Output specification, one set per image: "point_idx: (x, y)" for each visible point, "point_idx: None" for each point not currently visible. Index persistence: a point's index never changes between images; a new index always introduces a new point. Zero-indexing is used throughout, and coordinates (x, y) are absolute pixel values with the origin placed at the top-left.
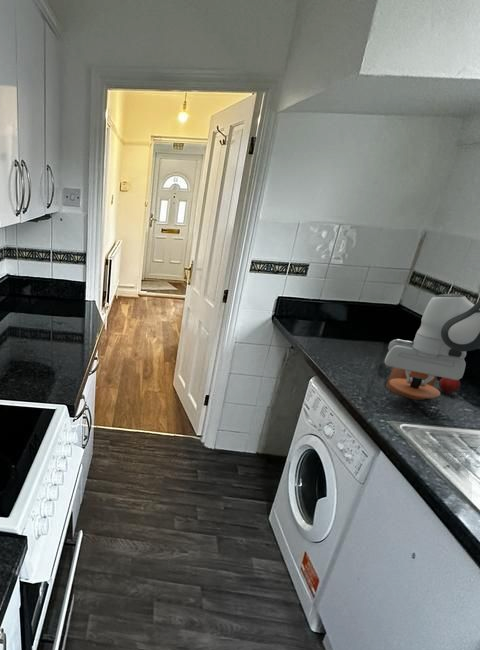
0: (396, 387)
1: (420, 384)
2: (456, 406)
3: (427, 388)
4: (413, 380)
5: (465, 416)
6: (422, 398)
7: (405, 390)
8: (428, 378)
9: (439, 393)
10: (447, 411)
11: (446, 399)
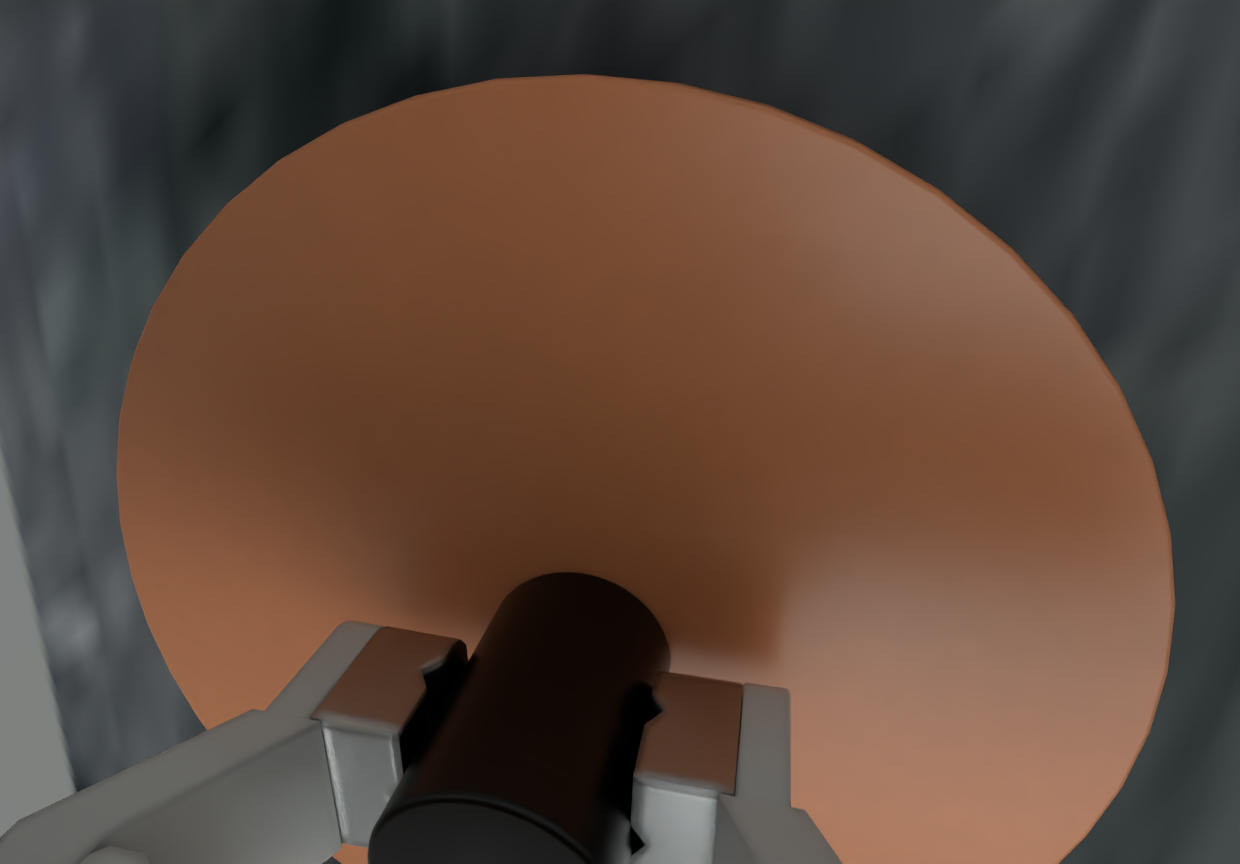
0: (1076, 377)
1: (445, 664)
2: (158, 665)
3: None
4: (613, 754)
5: (44, 429)
6: None
7: (838, 265)
8: (193, 859)
9: (131, 524)
10: None
11: None
